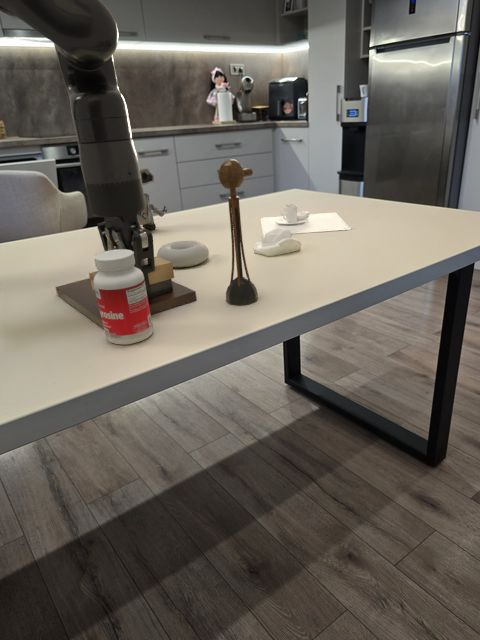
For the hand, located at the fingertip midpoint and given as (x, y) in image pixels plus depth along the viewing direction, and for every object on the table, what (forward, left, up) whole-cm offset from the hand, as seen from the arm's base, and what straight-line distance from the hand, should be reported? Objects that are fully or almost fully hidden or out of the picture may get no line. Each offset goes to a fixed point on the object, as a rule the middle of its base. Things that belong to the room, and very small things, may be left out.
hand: (135, 294), depth 73 cm
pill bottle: (-6, -10, -2) cm, 11 cm away
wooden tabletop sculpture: (+13, -10, -2) cm, 17 cm away
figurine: (+23, +46, -2) cm, 51 cm away
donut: (+17, +15, -2) cm, 23 cm away
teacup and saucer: (+54, +21, -2) cm, 58 cm away
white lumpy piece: (+34, +7, -2) cm, 35 cm away
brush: (0, 0, 0) cm, 0 cm away
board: (0, +5, -2) cm, 5 cm away
